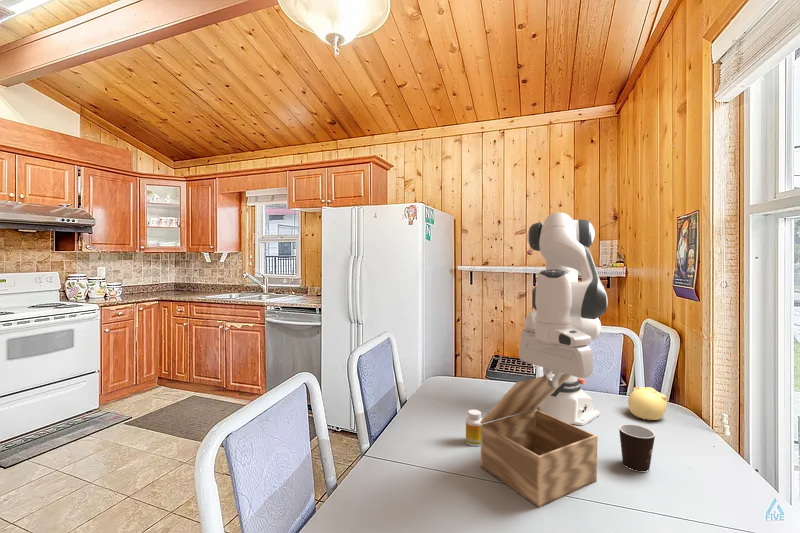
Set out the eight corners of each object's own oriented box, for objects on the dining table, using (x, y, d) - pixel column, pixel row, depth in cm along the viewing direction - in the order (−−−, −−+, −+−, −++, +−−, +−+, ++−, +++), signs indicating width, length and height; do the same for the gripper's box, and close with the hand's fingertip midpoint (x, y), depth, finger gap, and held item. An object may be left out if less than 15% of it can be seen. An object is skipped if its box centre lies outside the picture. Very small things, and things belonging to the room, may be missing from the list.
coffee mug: (642, 477, 103) (643, 440, 103) (611, 462, 111) (612, 427, 111) (667, 467, 109) (668, 431, 108) (636, 453, 116) (637, 420, 116)
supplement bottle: (483, 447, 119) (483, 416, 119) (465, 445, 120) (465, 414, 120) (482, 439, 125) (483, 409, 124) (465, 437, 126) (466, 408, 125)
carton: (535, 448, 119) (536, 409, 119) (596, 481, 102) (597, 435, 101) (480, 467, 108) (481, 424, 108) (538, 508, 91) (539, 457, 90)
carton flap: (536, 408, 119) (534, 406, 119) (575, 371, 107) (573, 369, 107) (481, 424, 108) (480, 422, 108) (518, 384, 96) (516, 382, 96)
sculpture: (671, 418, 141) (672, 389, 141) (656, 426, 134) (657, 395, 134) (637, 408, 151) (638, 380, 150) (621, 415, 144) (622, 386, 143)
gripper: (513, 327, 108) (513, 377, 108) (580, 341, 90) (579, 400, 90) (529, 325, 111) (529, 374, 111) (597, 338, 93) (596, 395, 93)
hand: (552, 386), depth 100 cm, fingers closed
